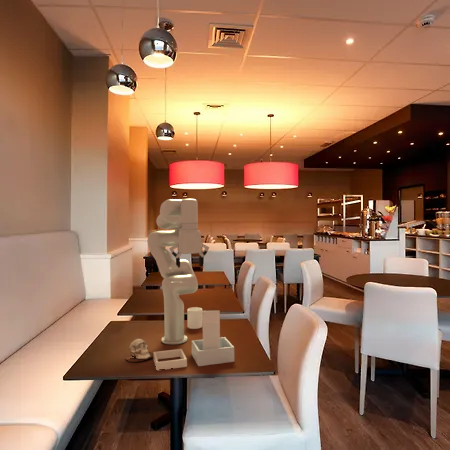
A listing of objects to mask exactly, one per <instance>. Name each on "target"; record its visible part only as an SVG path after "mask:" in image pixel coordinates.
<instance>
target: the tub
mask: <svg viewBox="0 0 450 450" xmlns="http://www.w3.org/2000/svg"><path fill="white" fill-rule="evenodd" d="M191 356H192V357H193V359H194V361H195V363H196V365H197V367H203V366H210V365H218V364H220V365H221V364H225V363H233V362H234V363H235V346H234V345H233V344H232V343H231V342H230V340H228V339H227V337H226V336H224V337H223V336H220V348H216V349H207V350H203V339H195V340H191Z"/></svg>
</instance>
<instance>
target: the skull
mask: <svg viewBox="0 0 450 450" xmlns="http://www.w3.org/2000/svg"><path fill="white" fill-rule="evenodd" d="M148 349H149V346H148V344H147V342H146V341H145V340H143V339H142V338H136V339H134V340H133V341H132V342H131V343H130V344H129V347H128V350H129V353H130V356H132V357H134V358H130V359H128V361H127V362H143V361H146V360H149V359H152V358H154V356H153V352H151V351H149V350H148Z"/></svg>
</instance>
